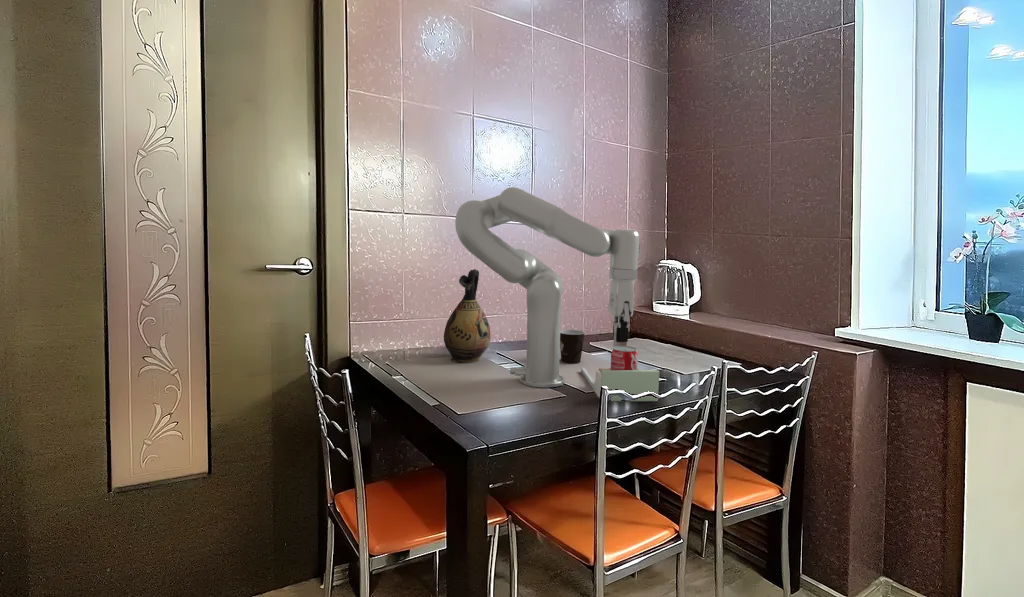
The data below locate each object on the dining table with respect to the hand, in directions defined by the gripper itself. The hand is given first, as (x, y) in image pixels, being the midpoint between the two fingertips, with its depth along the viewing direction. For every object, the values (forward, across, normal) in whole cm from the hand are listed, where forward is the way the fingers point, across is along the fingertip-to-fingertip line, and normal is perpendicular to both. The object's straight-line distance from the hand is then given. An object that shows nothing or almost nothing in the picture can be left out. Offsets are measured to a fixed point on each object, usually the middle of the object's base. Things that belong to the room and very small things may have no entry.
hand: (620, 339), depth 159 cm
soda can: (+14, +8, 0) cm, 16 cm away
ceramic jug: (+14, -32, -43) cm, 55 cm away
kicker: (+14, +2, 0) cm, 14 cm away
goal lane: (+14, -2, 0) cm, 14 cm away
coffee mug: (+14, -28, -9) cm, 33 cm away
